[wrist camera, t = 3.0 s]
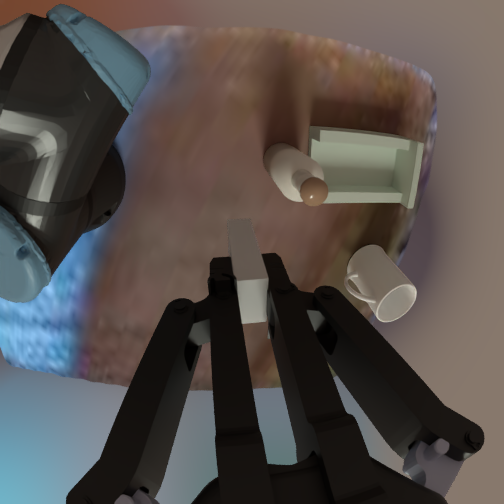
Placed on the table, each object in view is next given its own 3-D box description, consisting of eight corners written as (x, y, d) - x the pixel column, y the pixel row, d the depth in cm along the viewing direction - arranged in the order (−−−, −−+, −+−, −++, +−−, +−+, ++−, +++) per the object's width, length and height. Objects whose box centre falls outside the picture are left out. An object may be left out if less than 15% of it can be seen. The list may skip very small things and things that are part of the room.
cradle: (306, 193, 41) (320, 209, 36) (309, 125, 36) (326, 131, 30) (391, 193, 43) (412, 208, 37) (399, 135, 37) (423, 143, 32)
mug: (325, 279, 50) (350, 324, 40) (340, 239, 46) (372, 280, 36) (374, 282, 53) (403, 322, 43) (391, 246, 49) (426, 283, 38)
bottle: (263, 178, 39) (287, 218, 27) (263, 142, 36) (289, 166, 24) (298, 177, 40) (336, 216, 27) (299, 143, 37) (341, 167, 25)
